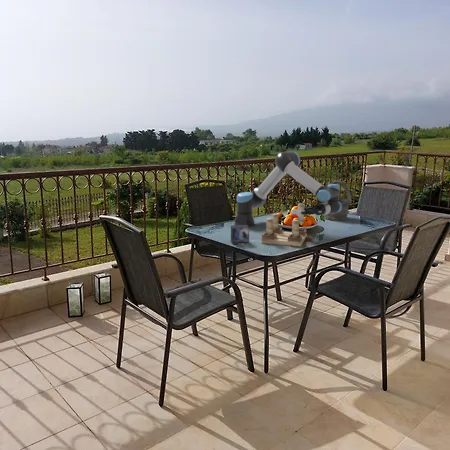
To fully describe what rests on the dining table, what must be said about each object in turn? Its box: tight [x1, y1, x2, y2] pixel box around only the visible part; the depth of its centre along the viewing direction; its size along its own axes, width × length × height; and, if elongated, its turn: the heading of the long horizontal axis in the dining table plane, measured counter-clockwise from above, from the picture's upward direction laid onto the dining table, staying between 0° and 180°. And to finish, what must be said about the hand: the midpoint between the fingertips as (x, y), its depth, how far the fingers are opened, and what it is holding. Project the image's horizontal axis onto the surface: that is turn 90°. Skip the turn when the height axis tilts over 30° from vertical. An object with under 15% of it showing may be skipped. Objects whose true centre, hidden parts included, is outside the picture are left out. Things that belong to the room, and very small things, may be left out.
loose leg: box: [296, 203, 305, 224], centre depth 255 cm, size 4×4×12 cm
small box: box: [230, 225, 250, 245], centre depth 247 cm, size 11×6×10 cm, turn 101°
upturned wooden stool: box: [261, 213, 308, 247], centre depth 252 cm, size 24×24×14 cm
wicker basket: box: [323, 180, 352, 221], centre depth 316 cm, size 22×23×30 cm
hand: (294, 212), depth 252 cm, fingers closed on loose leg, 4 cm apart
